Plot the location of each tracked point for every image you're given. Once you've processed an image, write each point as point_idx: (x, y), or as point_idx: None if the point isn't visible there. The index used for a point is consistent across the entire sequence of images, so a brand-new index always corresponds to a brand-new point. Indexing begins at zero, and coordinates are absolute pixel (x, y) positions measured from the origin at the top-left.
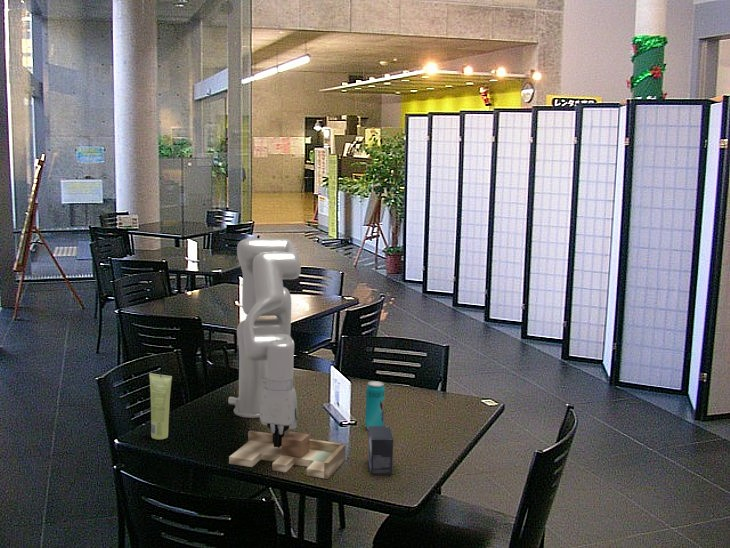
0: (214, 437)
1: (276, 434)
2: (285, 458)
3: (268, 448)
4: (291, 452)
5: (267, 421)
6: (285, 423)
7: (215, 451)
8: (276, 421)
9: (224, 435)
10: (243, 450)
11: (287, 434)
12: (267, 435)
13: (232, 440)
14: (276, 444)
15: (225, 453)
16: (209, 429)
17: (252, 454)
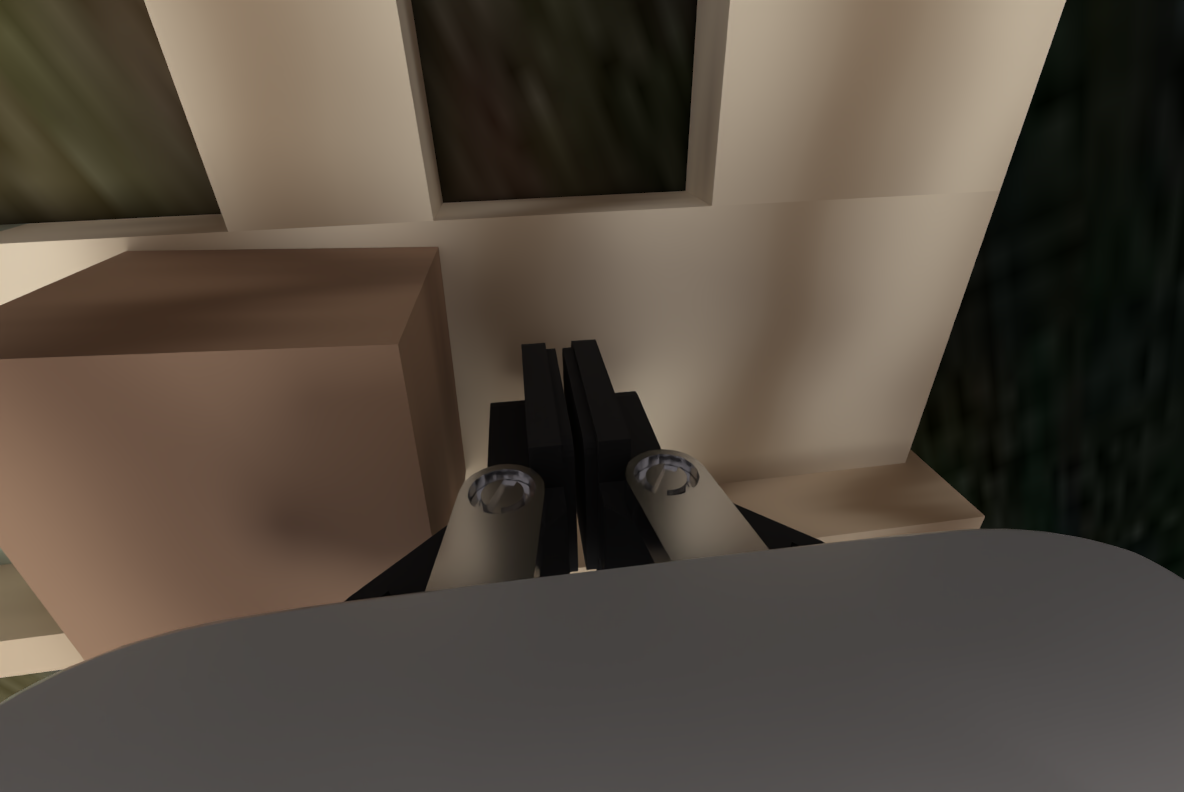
0: (1152, 458)
1: (583, 449)
2: (313, 152)
3: (674, 365)
4: (259, 266)
5: (915, 570)
6: (175, 686)
7: (1169, 198)
8: (585, 658)
9: (1078, 514)
10: (936, 183)
11: (413, 531)
12: None
13: (1017, 469)
14: (564, 368)
15: (1072, 192)
16: (1175, 547)
17: (801, 96)
